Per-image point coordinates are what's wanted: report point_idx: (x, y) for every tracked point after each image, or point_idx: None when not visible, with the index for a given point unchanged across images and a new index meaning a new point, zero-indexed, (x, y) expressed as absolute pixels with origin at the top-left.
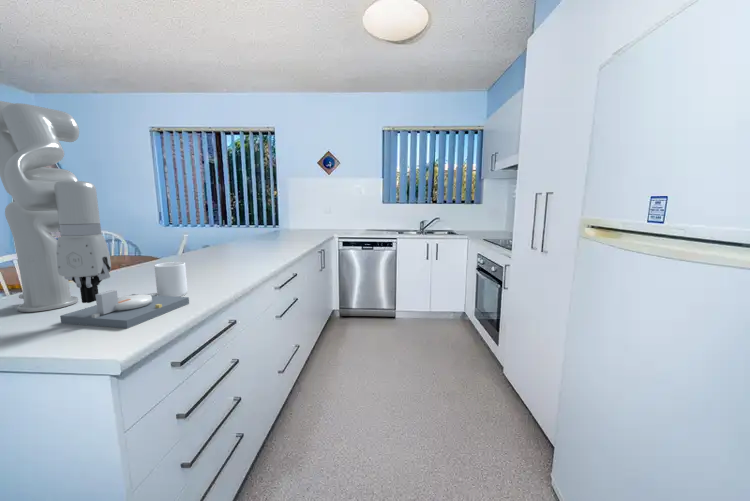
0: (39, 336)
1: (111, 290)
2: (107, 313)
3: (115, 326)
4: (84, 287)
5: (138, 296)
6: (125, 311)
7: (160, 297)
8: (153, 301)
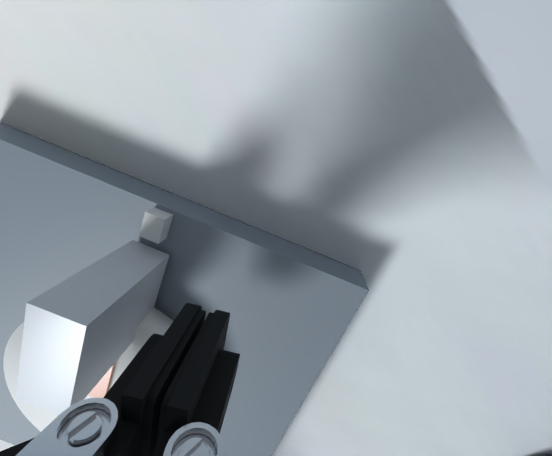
0: (346, 93)
1: (58, 411)
2: None
3: (60, 149)
4: (166, 426)
5: None
6: None
7: None
8: None
